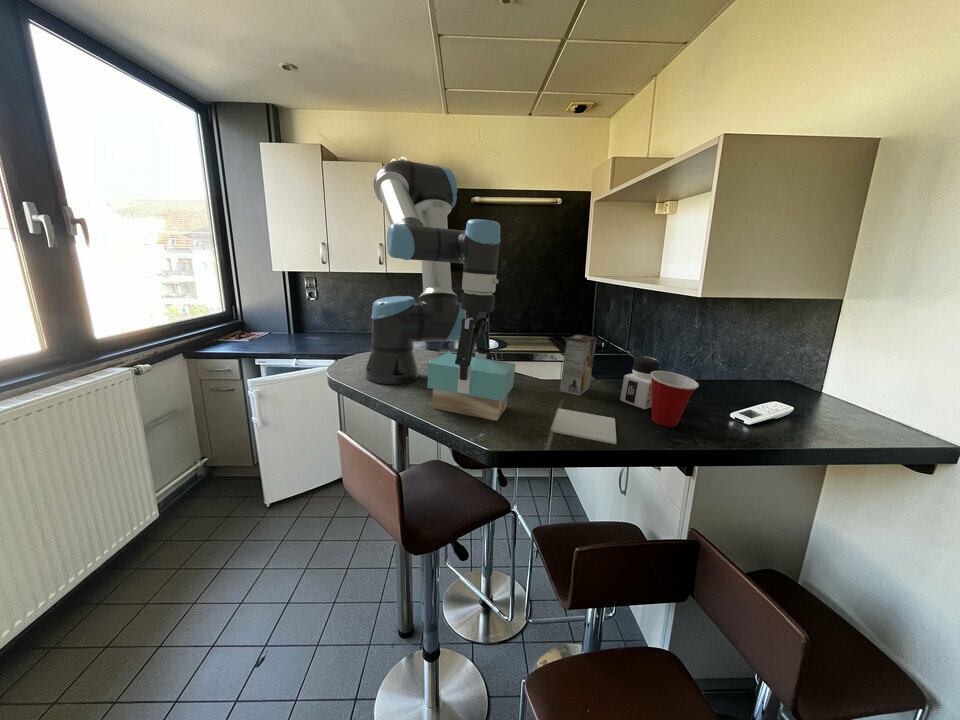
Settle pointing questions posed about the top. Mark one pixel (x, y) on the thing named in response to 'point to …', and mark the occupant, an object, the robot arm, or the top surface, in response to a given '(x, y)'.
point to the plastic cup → (670, 396)
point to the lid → (473, 376)
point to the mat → (584, 425)
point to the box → (468, 404)
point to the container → (639, 383)
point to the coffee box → (578, 364)
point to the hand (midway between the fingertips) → (471, 385)
